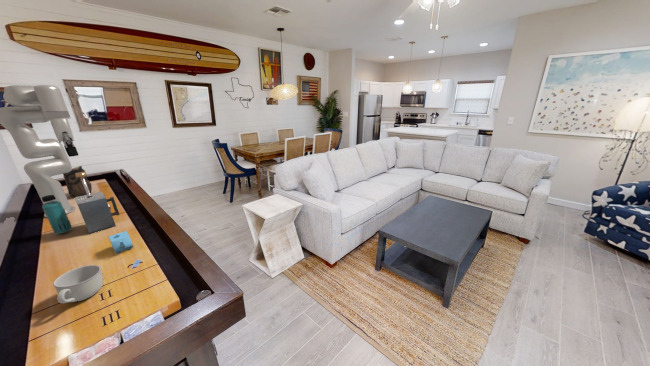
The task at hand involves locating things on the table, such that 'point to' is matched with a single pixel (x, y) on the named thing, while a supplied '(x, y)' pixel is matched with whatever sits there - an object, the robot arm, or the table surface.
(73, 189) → the owl
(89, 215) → the coffee press
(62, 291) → the teacup
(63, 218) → the beverage bottle
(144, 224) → the table surface
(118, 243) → the printed blue cube
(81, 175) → the plunger
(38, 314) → the table surface
